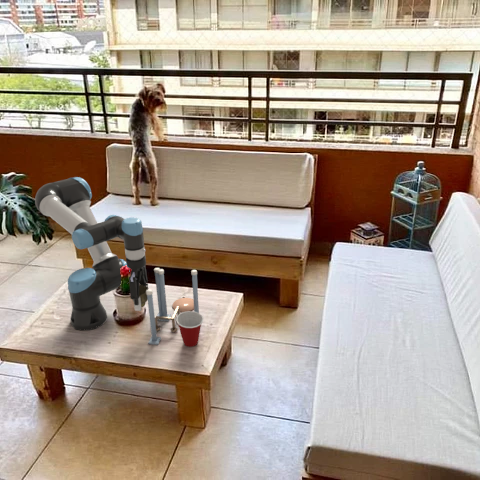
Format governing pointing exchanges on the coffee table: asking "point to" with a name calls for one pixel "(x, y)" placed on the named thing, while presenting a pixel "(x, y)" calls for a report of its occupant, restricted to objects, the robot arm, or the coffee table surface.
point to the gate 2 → (195, 291)
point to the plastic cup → (189, 327)
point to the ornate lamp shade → (143, 294)
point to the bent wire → (168, 319)
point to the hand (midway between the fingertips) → (141, 304)
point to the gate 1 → (149, 292)
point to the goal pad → (184, 304)
